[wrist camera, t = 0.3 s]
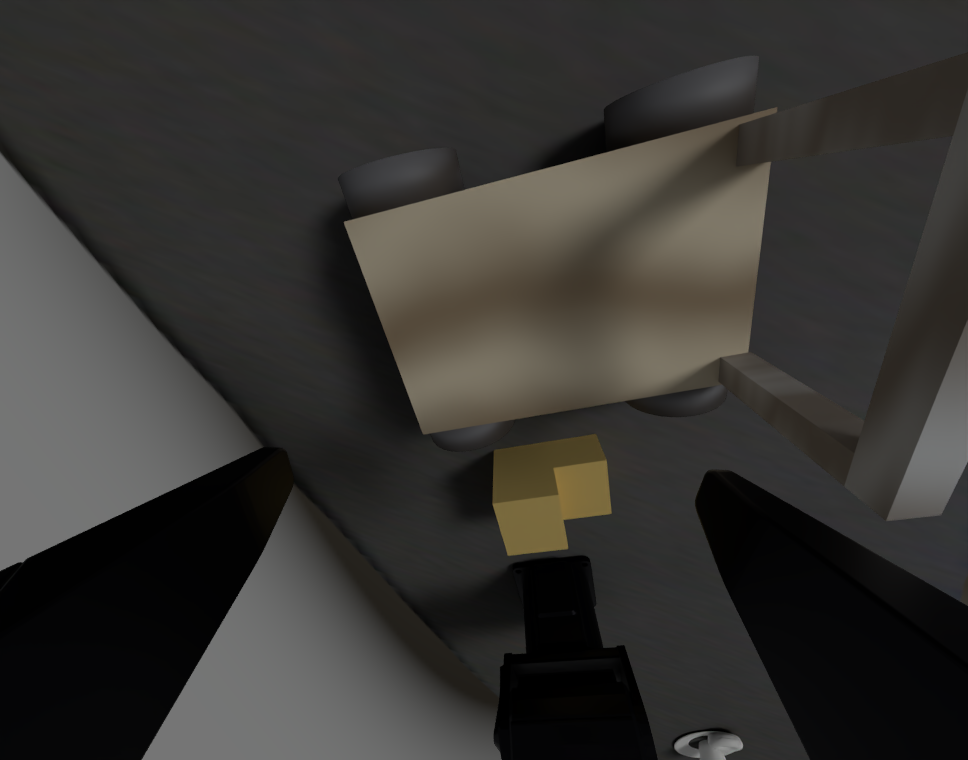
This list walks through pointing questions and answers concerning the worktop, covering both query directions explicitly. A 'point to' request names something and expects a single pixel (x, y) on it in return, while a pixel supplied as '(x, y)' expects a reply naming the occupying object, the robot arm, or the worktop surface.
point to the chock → (548, 491)
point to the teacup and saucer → (709, 745)
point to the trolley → (669, 277)
